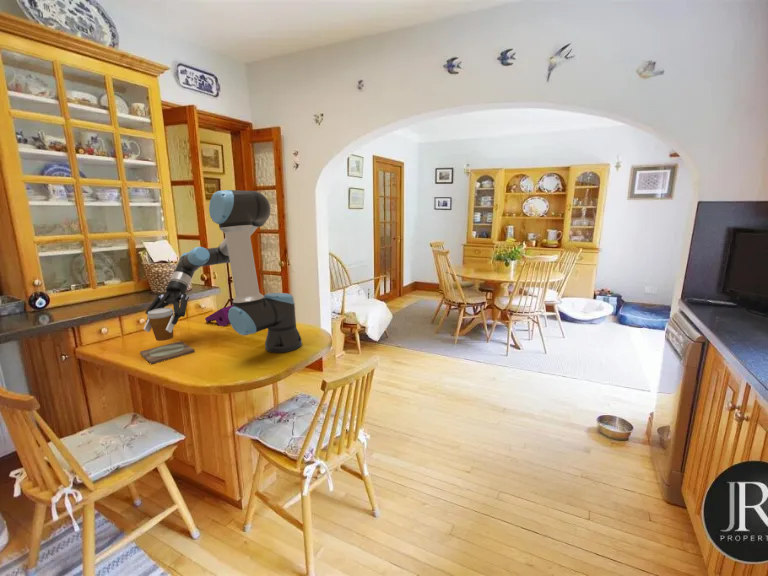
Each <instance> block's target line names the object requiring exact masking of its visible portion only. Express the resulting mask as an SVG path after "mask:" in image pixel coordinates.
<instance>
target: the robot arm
mask: <svg viewBox="0 0 768 576" xmlns="http://www.w3.org/2000/svg"><path fill="white" fill-rule="evenodd" d="M208 206H209V208H208V212H209V216H210V219H211V221H213V223H215V224H216V225H218V227H219V230H220V231H221V232H223V233H224V236H225V238H223V240H222V242H221V243H220V244H219V245H218V246H217V247H210V248H205V247H203V246H196V247H193V248H192V249H191V250H190V251H187V252H184V253H182V254H181V256H180V257H179V260H178V262H177V265H176V267H175V269H174V271H173V273H172V275H171V276H170V278H169V282H168V283H167V285H166V288H165V289H166V290H165V291H166V292H165V293H164V294H161V293H158V294H157V295H156V297H155V299H154V300H153V301H152V303H151V304H150V305H149V307H148V308H147V309H146V311H144V312H145V314H146V316H147V315H148V312H149V311H151V310H154V309H159V308H166V307H167V306H169V305H171V304H172V305H173V311H174V313H173V315H172V316H171V319H170V321H169V323H168V325H167V327H166V330H167V331H168V332H170V333H171V332H172V330H173V331H174V327H175V326H176V325H177V324H178V322H179V319H181V317H185V316H186V311H187V306H188V301H189V299H190V296H188V295H187V294H186V292H187V290H188V287H189V286H190V283H191V281H192V279H193V275H194V274H195V272H196V271H197V270H199V269H200V268H201V267H208V266H213V265H222V264H229V265H230V271H231V275H232V282H233V287H234V291H235V297H234V298H233V300H232V305H233V307H232V308H230V310H229V313H228V317H229V321H230V323H229V324H230V325H231V327H232V329H233V330H234V331H235V332H236V333H237V334H239V335H241V336H248V335H254V334H256V333H258V332H260V331H263V330H267V333H266V339H265V343H264V347H265V350H266V351H267V352H268V353H275V354H278V353H289V352H292V351H295V350H297V349H300V347H302V345H303V342H302V340H303V339H302V336H301V335H300V333H299V331H298V328H297V323H296V322H297V319H296V307H295V304H296V303H295V300H294V295H292V294H290V293H285V292H269V293H265V294H264V295H263V294H262V293H261V292H260V289H259V283H258V282H259V281H258V275H257V271H256V264H255V263H256V262H255V259H254V251H253V245H252V241H251V236H252V235H253V234H254V233H255V232H256V230H257V229H258V228H260V227H263V226H264V225H265V224H266V222H267V221H268V220H269V218H270V215H271V204H270V202H269V200H268V199H267V197H266V196H265V195H264V194H262V193H260V192H259V191H256V190H237V189H235V190H233V189H225V190H218V191H215V192H214V193H213V195H212V196H211V199H210V200H209V205H208ZM151 329H152V326H151V323H150V320H149V318H148V317H147V319H145V324H144V327H143V330H144V331H146V332H147V333H149V332H151Z"/></svg>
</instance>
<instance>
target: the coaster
mask: <svg viewBox="0 0 768 576" xmlns="http://www.w3.org/2000/svg"><path fill="white" fill-rule="evenodd" d="M193 352H194V353H195V349H194V348H192V347H191V346H189V345H188V344H187V343H185V342H184V341H182V340H179V341H175V342H172V343H168V344H165V345H160V346H157V347H152V348H149V349H145V350H141V351H139V354H140V356H142V357H143V358H144V359H145V360H146V361H147V362H148V361H149V362H150V363H151V364H150V363H149V362H148V363H149V364H150V365H154V364H153V363H155V364H157V362H158V363H161V361H162V362H165V361H168V359H169V360H171V359H175V357H176V358H178V357H183V356H186V355H190V354H192V353H193ZM194 353H193V354H194ZM182 355H183V356H182ZM164 360H165V361H164Z"/></svg>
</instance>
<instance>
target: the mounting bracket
mask: <svg viewBox="0 0 768 576" xmlns="http://www.w3.org/2000/svg"><path fill="white" fill-rule="evenodd" d="M232 307H233V304H232V305H229V306H225V307H221V308H220V309H219V310H217V311H215V312H213V313H212V314H210V315H208V316H206V317H205V318H204V320H205V321H206V323H209V322H212V321H215V322H216V324H217V325H218V326H220V327H225V326H228V325H229V324H230V321H229V317H228V313H229V310H230V308H232Z"/></svg>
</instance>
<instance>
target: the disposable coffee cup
mask: <svg viewBox="0 0 768 576" xmlns="http://www.w3.org/2000/svg"><path fill="white" fill-rule="evenodd" d="M172 315H174V309H173V308H172V307H164V308H159V309H154V310H151V311H149V312H148V315H147V314H146V317H147V318H149V320H150V323H151V326H152V327H151V329H152V332H153V335H154V338H155V340H156V341H158V342H163V341H168V340H171V339H173V338H174V329H173V330H172V332H171V333H170V332H168V331H167V330H166V327H167V325H168V323H169V321H170V319H171V316H172Z"/></svg>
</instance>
